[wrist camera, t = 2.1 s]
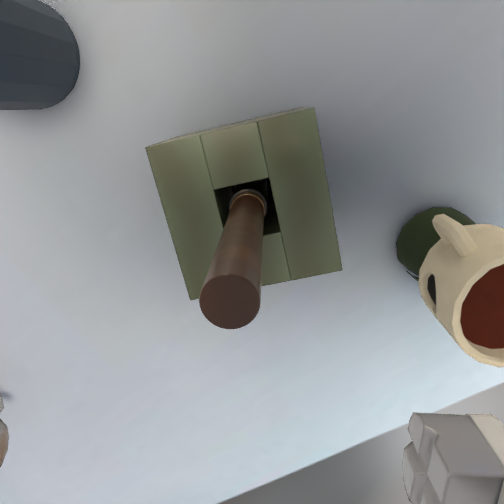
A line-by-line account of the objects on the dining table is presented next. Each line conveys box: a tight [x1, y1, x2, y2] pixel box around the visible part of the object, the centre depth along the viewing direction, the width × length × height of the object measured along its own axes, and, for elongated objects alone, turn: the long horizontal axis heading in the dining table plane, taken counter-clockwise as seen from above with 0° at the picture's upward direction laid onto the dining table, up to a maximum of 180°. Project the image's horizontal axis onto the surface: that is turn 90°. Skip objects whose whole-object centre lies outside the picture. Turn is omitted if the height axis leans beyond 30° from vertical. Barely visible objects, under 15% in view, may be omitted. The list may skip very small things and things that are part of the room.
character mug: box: [396, 208, 504, 367], centre depth 30 cm, size 11×7×13 cm, turn 38°
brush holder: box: [146, 107, 342, 300], centre depth 31 cm, size 10×10×9 cm
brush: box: [199, 178, 268, 329], centre depth 25 cm, size 2×2×22 cm
